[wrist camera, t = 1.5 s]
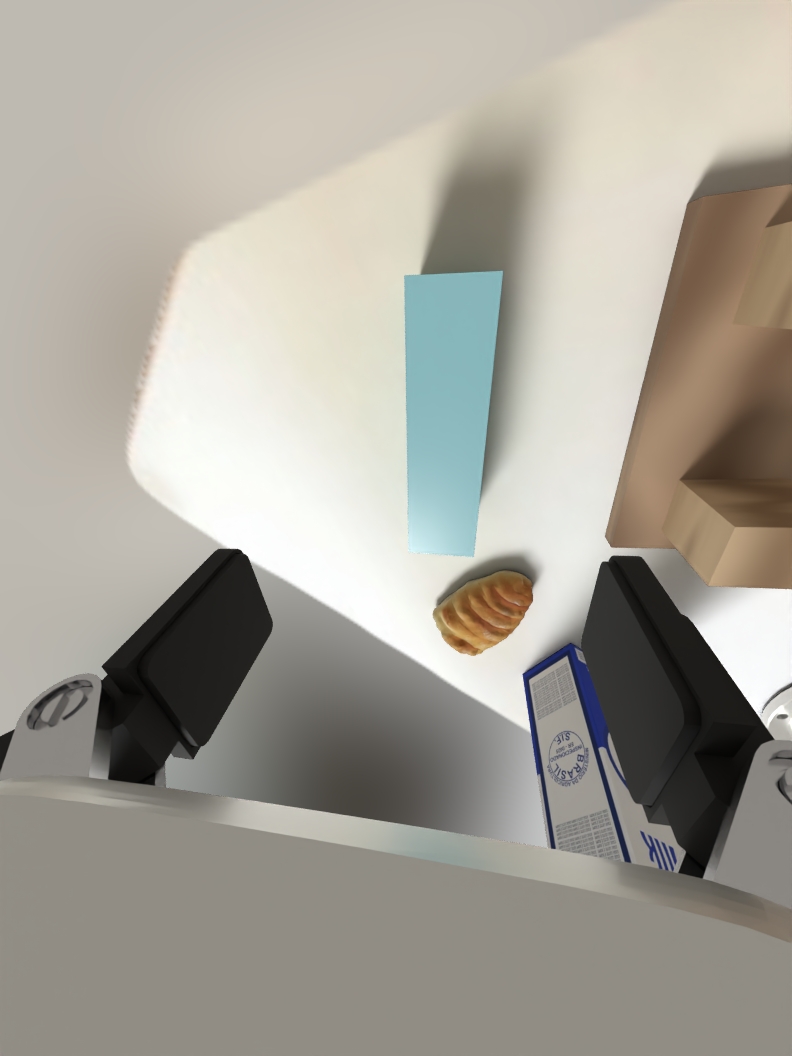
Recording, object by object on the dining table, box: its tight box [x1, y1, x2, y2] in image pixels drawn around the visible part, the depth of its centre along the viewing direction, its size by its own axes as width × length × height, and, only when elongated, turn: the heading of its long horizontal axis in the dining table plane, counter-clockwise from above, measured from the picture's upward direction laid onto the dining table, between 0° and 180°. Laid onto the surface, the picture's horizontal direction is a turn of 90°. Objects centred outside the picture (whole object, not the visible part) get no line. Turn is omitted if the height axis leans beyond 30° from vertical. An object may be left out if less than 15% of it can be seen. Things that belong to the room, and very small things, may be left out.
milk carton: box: [523, 643, 682, 872], centre depth 29 cm, size 7×7×20 cm
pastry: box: [433, 570, 533, 656], centre depth 33 cm, size 9×7×4 cm
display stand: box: [605, 184, 792, 589], centre depth 19 cm, size 12×20×8 cm, turn 5°
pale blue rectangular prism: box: [404, 271, 503, 557], centre depth 23 cm, size 4×16×6 cm, turn 2°
